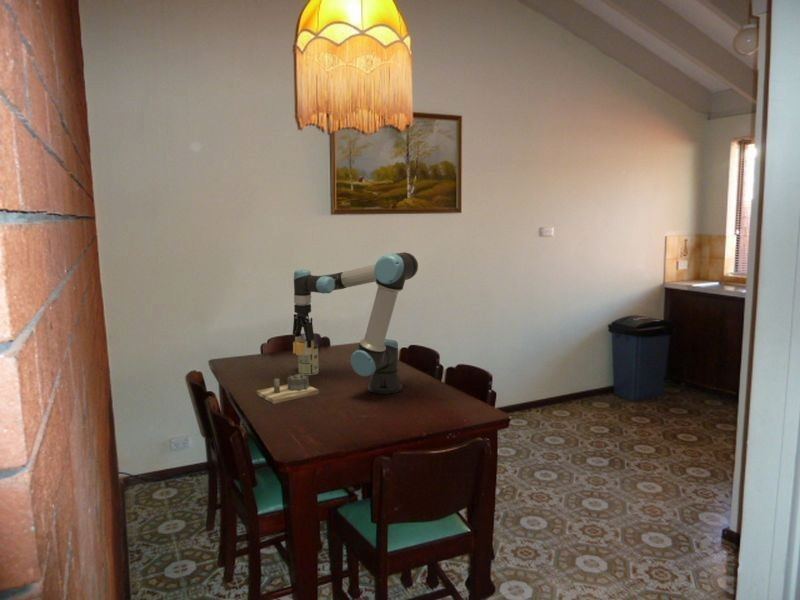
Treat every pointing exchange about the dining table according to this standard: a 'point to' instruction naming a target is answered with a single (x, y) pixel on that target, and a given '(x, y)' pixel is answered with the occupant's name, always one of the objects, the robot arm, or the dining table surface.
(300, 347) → the gear
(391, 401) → the dining table surface
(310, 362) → the coffee can
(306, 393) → the gear board
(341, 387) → the dining table surface
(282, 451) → the dining table surface
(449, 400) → the dining table surface
